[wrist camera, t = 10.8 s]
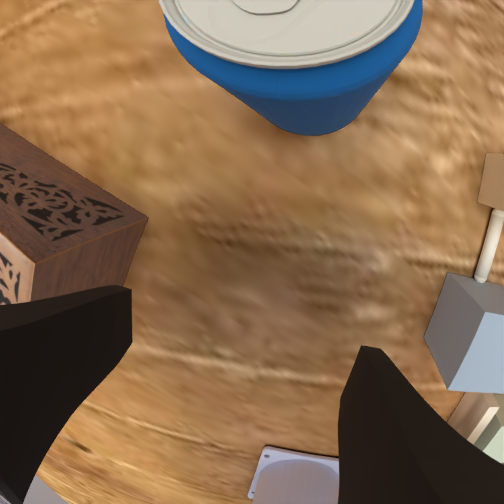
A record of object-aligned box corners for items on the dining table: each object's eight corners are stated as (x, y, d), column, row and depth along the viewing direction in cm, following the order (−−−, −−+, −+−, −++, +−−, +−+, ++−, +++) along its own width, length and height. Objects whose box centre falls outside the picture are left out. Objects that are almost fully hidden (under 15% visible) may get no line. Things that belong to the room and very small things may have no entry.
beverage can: (386, 61, 14) (464, -61, 3) (336, 158, 17) (367, 150, 5) (281, 14, 15) (221, -131, 3) (231, 106, 17) (94, 40, 6)
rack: (500, 446, 19) (510, 471, 16) (342, 441, 22) (342, 474, 18) (544, 381, 17) (561, 405, 13) (379, 365, 19) (386, 399, 16)
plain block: (495, 431, 19) (508, 461, 15) (459, 432, 20) (470, 466, 16) (520, 393, 18) (538, 423, 14) (484, 393, 18) (501, 426, 15)
